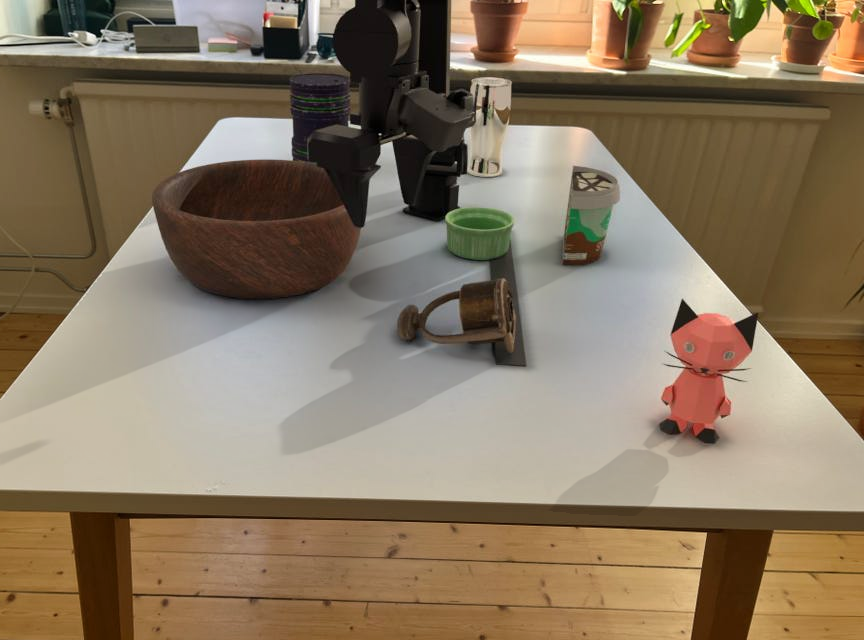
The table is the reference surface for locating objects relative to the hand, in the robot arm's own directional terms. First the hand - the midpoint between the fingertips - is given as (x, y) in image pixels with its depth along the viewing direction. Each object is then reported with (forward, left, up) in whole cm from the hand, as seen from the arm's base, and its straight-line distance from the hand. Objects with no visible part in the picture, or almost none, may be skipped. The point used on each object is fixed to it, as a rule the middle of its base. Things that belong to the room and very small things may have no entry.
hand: (384, 215), depth 86 cm
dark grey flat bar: (+8, +14, -11) cm, 20 cm away
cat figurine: (+35, -2, -11) cm, 37 cm away
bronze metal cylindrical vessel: (+10, 0, -11) cm, 15 cm away
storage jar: (-40, +38, -11) cm, 56 cm away
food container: (+11, +31, -12) cm, 35 cm away
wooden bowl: (-19, +1, -12) cm, 22 cm away
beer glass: (-18, +55, -11) cm, 59 cm away
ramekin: (-1, +23, -11) cm, 26 cm away
